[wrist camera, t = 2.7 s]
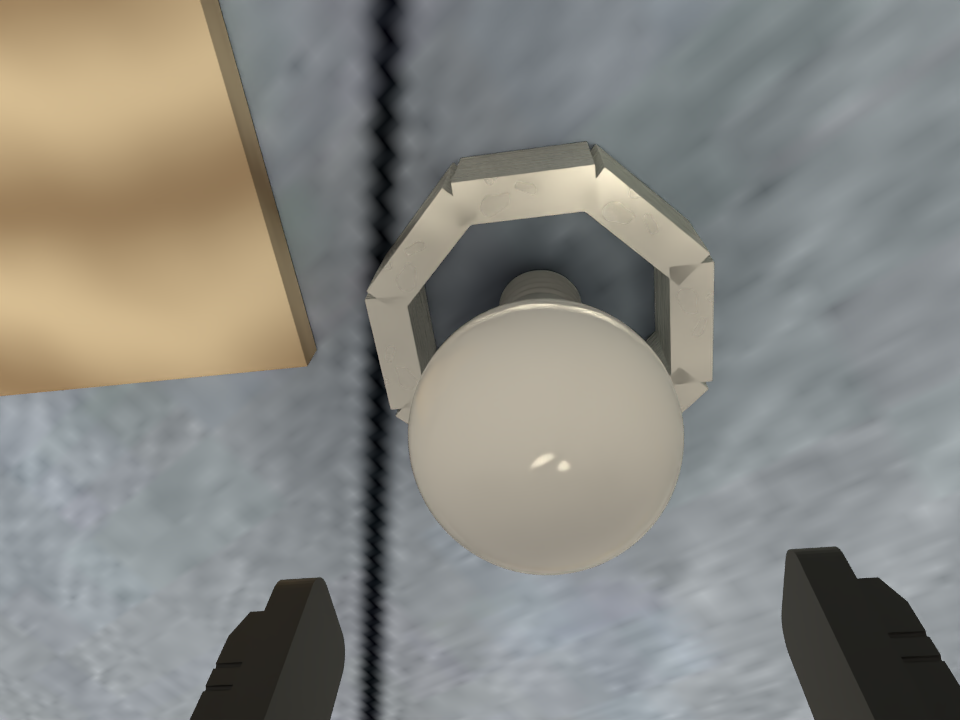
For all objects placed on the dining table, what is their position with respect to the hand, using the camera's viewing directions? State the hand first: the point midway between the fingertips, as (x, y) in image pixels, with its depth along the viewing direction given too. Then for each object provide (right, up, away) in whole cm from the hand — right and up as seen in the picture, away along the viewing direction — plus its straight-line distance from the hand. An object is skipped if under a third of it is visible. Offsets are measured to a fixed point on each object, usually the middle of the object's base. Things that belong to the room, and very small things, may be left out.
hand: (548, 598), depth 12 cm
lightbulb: (+1, +6, +11) cm, 13 cm away
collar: (+1, +6, +11) cm, 13 cm away
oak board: (-15, +10, +10) cm, 21 cm away
